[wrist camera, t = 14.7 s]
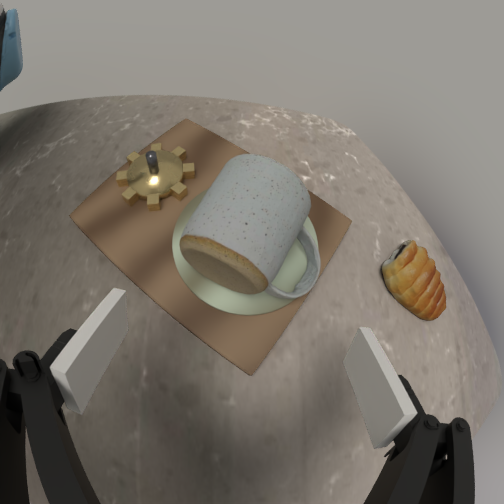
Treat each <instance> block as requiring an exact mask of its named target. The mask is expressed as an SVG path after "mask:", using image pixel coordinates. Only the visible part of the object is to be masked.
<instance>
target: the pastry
mask: <svg viewBox="0 0 504 504" xmlns="http://www.w3.org/2000/svg"><path fill="white" fill-rule="evenodd" d="M382 272H383V276H384V281H385V284H386V287H387V289H388V290H389V291H390V292H391V293H392V294H393V296H394V298H395V299H396V300H397V301H398V302H399V303H400V304H402V305H403V306H404V307H405V308H407V309H408V310H409V311H411V312H412V313H413V314H414V315H416V316H417V317H419V318H420V319H423V320H427V321H431V320H434V319H436V318H438V317H439V316H440V314H441V313H442V312H443V311H444V310H445V309H446V295H445V291H444V284H443V283H442V282H441V280H440V273H439V272H438V271H437V270H436V267H435V261H434V260H433V259H430V258H428V255H427V250H426V249H425V248H423V247H418V246H417V245H416V242H415V241H414V240H412V241H411V240H408V241H405V242H403V244H402V245H401V247H400V249H397V250H395V251H394V252H393V254H392V256H391V257H390V259H388V260H386V261H385V262H384V263H383V265H382Z"/></svg>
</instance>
